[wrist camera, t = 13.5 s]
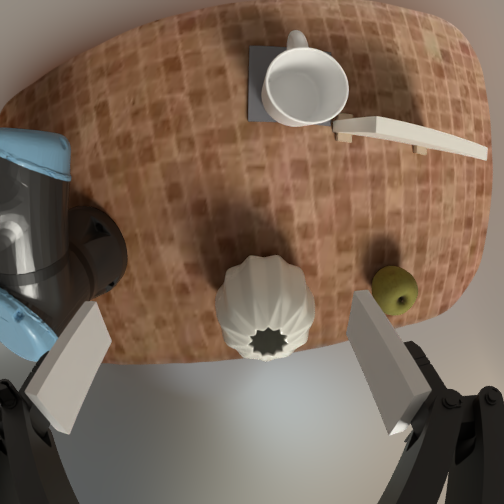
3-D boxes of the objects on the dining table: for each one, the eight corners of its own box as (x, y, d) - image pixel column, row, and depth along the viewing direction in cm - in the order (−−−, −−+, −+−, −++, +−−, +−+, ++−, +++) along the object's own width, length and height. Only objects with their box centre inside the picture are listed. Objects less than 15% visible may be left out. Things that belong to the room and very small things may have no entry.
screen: (332, 140, 35) (375, 145, 22) (333, 112, 33) (376, 103, 20) (425, 155, 35) (485, 170, 22) (426, 130, 33) (488, 138, 21)
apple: (380, 305, 46) (396, 329, 39) (356, 281, 44) (371, 305, 37) (410, 276, 44) (429, 297, 37) (388, 249, 41) (408, 268, 35)
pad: (248, 121, 34) (248, 121, 33) (249, 46, 29) (249, 45, 29) (329, 126, 34) (330, 126, 33) (329, 53, 30) (331, 52, 29)
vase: (323, 279, 44) (347, 333, 31) (266, 332, 48) (270, 392, 35) (257, 226, 40) (261, 269, 28) (201, 290, 44) (186, 347, 32)
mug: (257, 45, 29) (260, 15, 19) (319, 46, 29) (341, 20, 19) (262, 127, 34) (267, 124, 24) (324, 127, 34) (351, 125, 24)
